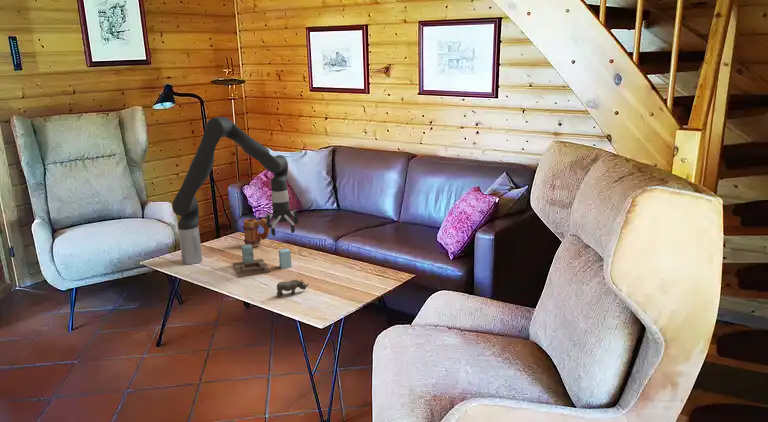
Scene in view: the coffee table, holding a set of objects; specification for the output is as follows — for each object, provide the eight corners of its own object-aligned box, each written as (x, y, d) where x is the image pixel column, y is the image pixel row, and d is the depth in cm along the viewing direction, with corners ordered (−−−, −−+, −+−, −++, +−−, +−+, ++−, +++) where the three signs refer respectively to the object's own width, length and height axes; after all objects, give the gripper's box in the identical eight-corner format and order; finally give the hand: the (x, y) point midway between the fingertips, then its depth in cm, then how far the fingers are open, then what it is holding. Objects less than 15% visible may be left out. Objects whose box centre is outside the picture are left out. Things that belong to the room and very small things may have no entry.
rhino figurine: (310, 292, 235) (309, 278, 234) (277, 298, 230) (276, 284, 229) (307, 289, 239) (306, 275, 237) (275, 294, 234) (274, 281, 232)
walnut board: (232, 265, 270) (231, 247, 268) (262, 260, 276) (260, 242, 273) (239, 277, 254) (237, 258, 252) (270, 272, 260) (268, 253, 257)
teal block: (279, 266, 267) (278, 249, 265) (289, 264, 269) (288, 248, 267) (282, 269, 263) (280, 252, 261) (291, 267, 265) (290, 251, 263)
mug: (241, 248, 295) (238, 220, 291) (247, 243, 302) (244, 216, 299) (268, 249, 292) (265, 221, 288) (273, 244, 300) (271, 216, 296)
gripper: (293, 196, 264) (296, 230, 268) (262, 200, 259) (266, 234, 263) (297, 199, 257) (300, 234, 261) (266, 203, 252) (269, 238, 256)
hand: (283, 234), depth 262 cm, fingers open, 8 cm apart
